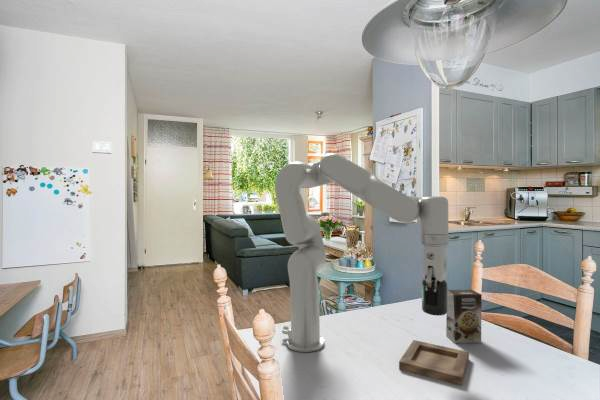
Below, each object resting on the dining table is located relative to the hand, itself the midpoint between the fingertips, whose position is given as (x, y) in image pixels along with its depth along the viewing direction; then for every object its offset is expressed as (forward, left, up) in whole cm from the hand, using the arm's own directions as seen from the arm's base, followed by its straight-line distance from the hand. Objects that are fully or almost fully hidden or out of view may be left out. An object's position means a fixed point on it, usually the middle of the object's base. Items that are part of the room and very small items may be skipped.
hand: (434, 300), depth 97 cm
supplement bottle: (0, 0, -3) cm, 3 cm away
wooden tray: (0, 0, -18) cm, 18 cm away
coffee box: (+5, +22, -19) cm, 29 cm away
